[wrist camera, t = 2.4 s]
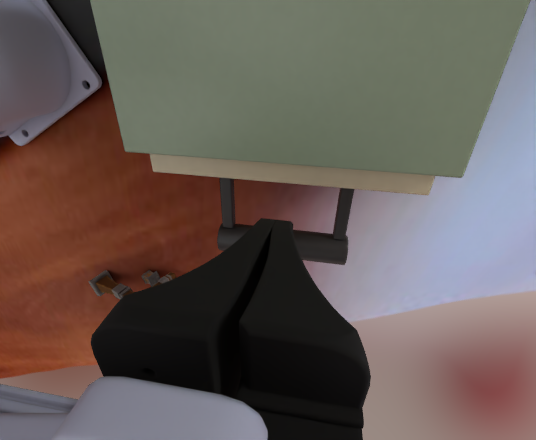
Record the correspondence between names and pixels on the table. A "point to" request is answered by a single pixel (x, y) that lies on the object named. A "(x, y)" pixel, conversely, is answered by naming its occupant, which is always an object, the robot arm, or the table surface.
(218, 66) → the cabinet
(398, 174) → the drawer
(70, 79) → the robot arm
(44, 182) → the table surface
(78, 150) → the table surface
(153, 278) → the wooden post with brackets
